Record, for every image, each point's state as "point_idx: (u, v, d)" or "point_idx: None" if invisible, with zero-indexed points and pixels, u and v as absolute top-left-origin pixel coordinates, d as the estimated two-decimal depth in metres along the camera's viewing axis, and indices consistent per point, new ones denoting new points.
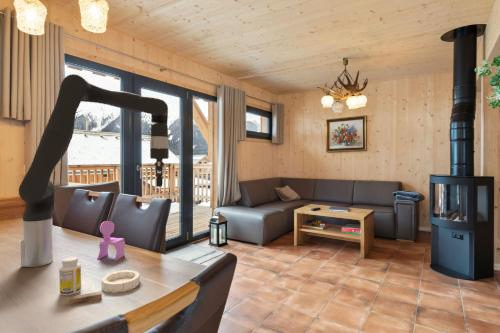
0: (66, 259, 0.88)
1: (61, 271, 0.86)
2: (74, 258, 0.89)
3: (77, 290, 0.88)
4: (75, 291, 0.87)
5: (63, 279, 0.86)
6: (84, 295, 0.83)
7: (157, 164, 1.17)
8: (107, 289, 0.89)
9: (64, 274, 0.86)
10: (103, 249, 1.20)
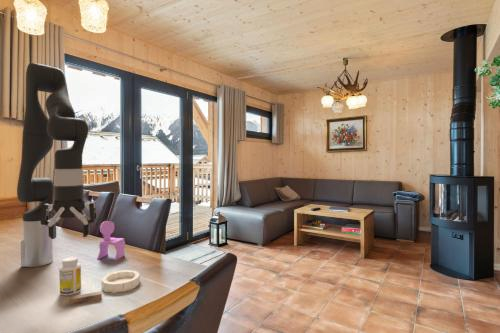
0: (66, 259, 0.88)
1: (61, 271, 0.86)
2: (74, 258, 0.89)
3: (77, 290, 0.88)
4: (75, 291, 0.87)
5: (63, 279, 0.86)
6: (84, 295, 0.83)
7: (94, 206, 0.89)
8: (107, 289, 0.89)
9: (64, 274, 0.86)
10: (103, 249, 1.20)
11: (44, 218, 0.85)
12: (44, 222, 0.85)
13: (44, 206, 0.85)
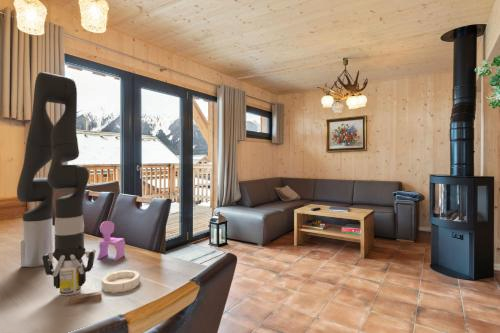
0: None
1: (61, 271, 0.86)
2: None
3: (77, 290, 0.88)
4: (75, 291, 0.87)
5: (63, 279, 0.86)
6: (84, 295, 0.83)
7: (93, 255, 0.89)
8: (107, 289, 0.89)
9: (64, 274, 0.86)
10: (103, 249, 1.20)
11: (48, 268, 0.85)
12: (49, 272, 0.86)
13: (45, 257, 0.85)
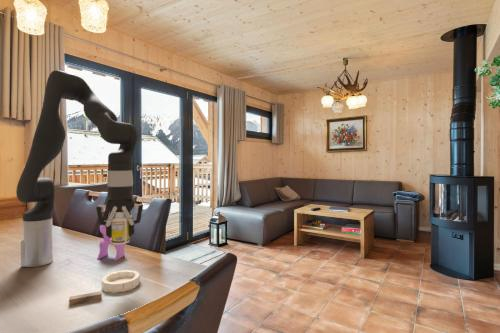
0: None
1: (113, 222, 0.91)
2: None
3: (127, 240, 0.93)
4: (126, 241, 0.93)
5: (116, 229, 0.91)
6: (84, 295, 0.83)
7: (142, 208, 0.95)
8: (107, 289, 0.89)
9: (116, 224, 0.91)
10: (103, 249, 1.20)
11: (101, 218, 0.91)
12: (102, 222, 0.91)
13: (98, 207, 0.90)
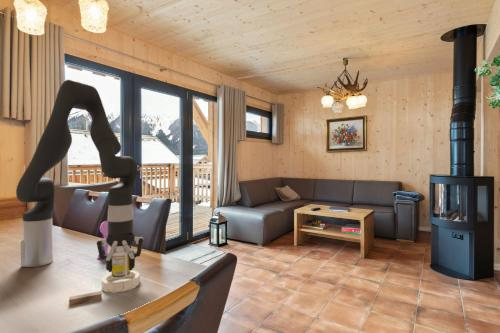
0: None
1: (114, 256, 0.91)
2: None
3: (128, 274, 0.93)
4: (126, 275, 0.93)
5: (116, 263, 0.91)
6: (84, 295, 0.83)
7: (142, 241, 0.95)
8: (107, 289, 0.89)
9: (116, 258, 0.91)
10: None
11: (102, 253, 0.91)
12: (103, 257, 0.91)
13: (99, 242, 0.91)
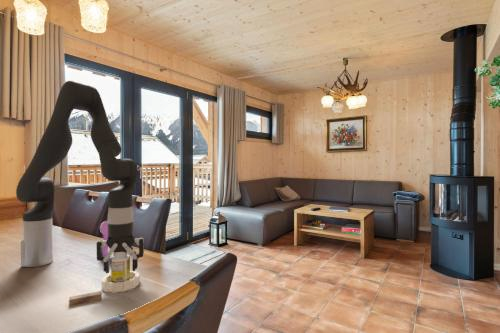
0: None
1: (113, 262, 0.91)
2: None
3: None
4: None
5: (116, 269, 0.91)
6: (84, 295, 0.83)
7: (143, 242, 0.95)
8: (107, 289, 0.89)
9: (116, 264, 0.91)
10: (103, 249, 1.20)
11: (99, 254, 0.91)
12: (100, 258, 0.91)
13: (99, 243, 0.91)
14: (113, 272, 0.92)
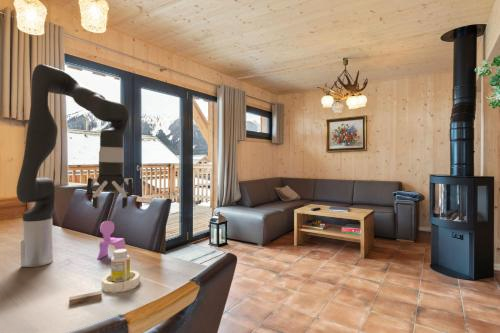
0: (117, 251, 0.93)
1: (113, 262, 0.91)
2: (124, 250, 0.94)
3: None
4: None
5: (116, 269, 0.91)
6: (84, 295, 0.83)
7: (132, 181, 1.00)
8: (107, 289, 0.89)
9: (116, 264, 0.91)
10: (103, 249, 1.20)
11: (89, 190, 0.96)
12: (89, 193, 0.96)
13: (90, 179, 0.96)
14: (113, 272, 0.92)
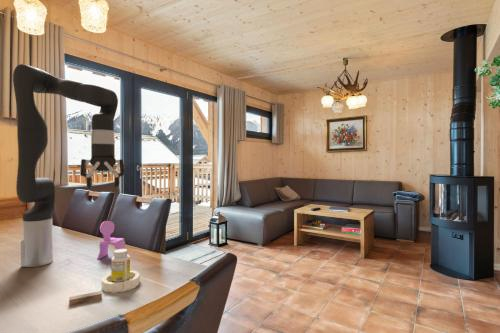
0: (117, 250, 0.94)
1: (113, 262, 0.91)
2: (124, 250, 0.94)
3: None
4: None
5: (116, 269, 0.91)
6: (84, 295, 0.83)
7: (123, 162, 1.07)
8: (107, 289, 0.89)
9: (116, 264, 0.91)
10: (103, 249, 1.20)
11: (83, 170, 1.03)
12: (83, 174, 1.03)
13: (83, 160, 1.02)
14: (113, 272, 0.92)
